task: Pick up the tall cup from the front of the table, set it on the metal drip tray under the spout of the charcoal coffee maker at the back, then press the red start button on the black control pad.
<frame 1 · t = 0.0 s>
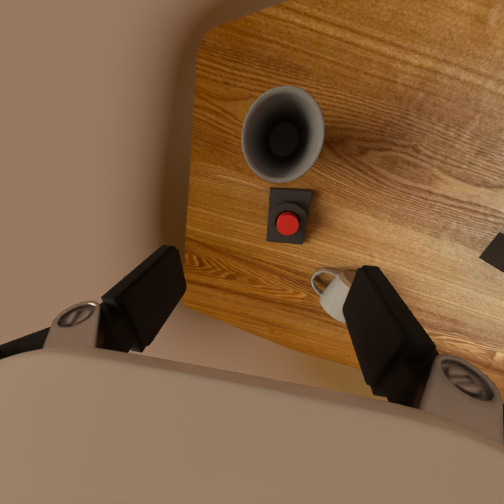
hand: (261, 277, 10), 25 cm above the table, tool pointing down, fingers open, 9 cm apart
start button: (287, 223, 31), point 3 cm above the table, slide at 0.1 cm
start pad: (287, 216, 34), on the table
ceramic mug: (335, 281, 40), on the table
cup: (283, 140, 28), on the table
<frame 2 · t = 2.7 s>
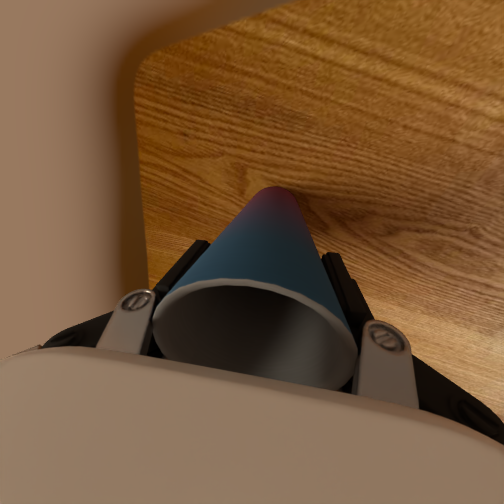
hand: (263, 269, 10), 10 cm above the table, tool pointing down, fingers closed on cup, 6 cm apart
cup: (273, 211, 19), on the table, touching gripper
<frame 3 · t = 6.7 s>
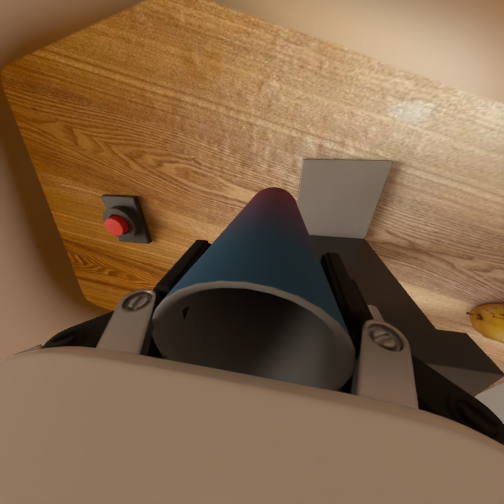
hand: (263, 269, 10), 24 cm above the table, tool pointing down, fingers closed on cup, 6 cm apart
start button: (117, 225, 36), point 3 cm above the table, slide at 0.1 cm
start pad: (130, 219, 39), on the table
cup: (273, 211, 19), point 14 cm above the table, touching gripper
coffee maker: (331, 211, 31), on the table
fruit: (482, 307, 37), on the table
when the fingers open (11 cm above the table, at t = 10.7 s): cup stays where it is, resting on coffee maker.
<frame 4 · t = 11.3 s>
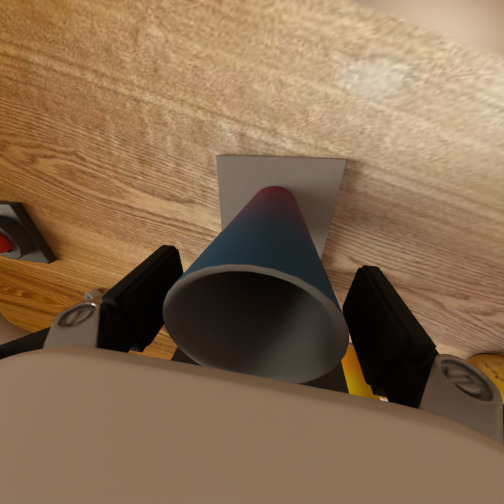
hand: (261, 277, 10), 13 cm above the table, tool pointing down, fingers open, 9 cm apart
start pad: (22, 231, 29), on the table
beer can: (342, 350, 32), on the table
cup: (273, 209, 20), point 1 cm above the table, touching coffee maker
coffee maker: (272, 230, 22), on the table
fruit: (481, 356, 28), on the table
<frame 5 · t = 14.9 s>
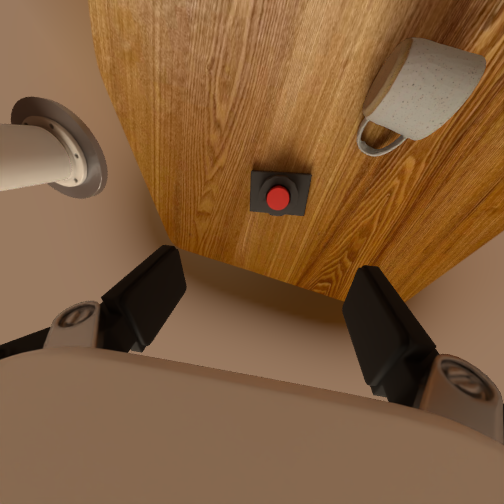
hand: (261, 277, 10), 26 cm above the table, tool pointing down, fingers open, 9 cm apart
start button: (278, 197, 30), point 3 cm above the table, slide at 0.1 cm
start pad: (278, 192, 33), on the table
ceramic mug: (390, 111, 25), on the table
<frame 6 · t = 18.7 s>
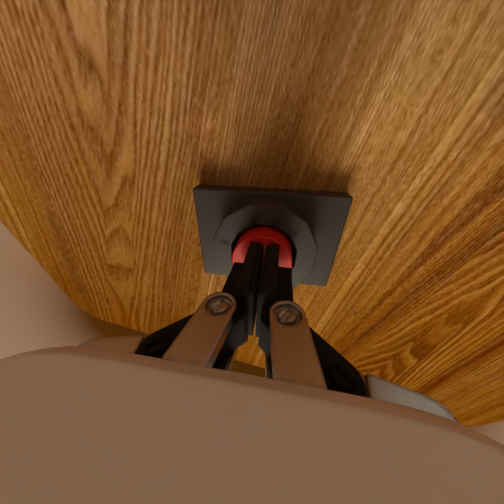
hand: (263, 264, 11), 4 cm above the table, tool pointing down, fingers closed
start button: (262, 255, 12), point 3 cm above the table, slide at -0.3 cm, touching gripper
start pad: (266, 234, 14), on the table
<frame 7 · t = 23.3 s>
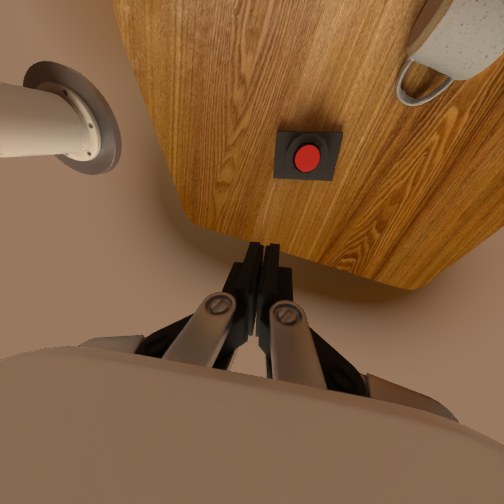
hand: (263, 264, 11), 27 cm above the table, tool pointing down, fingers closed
start button: (306, 158, 28), point 3 cm above the table, slide at 0.1 cm
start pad: (304, 156, 31), on the table
ceramic mug: (433, 53, 23), on the table
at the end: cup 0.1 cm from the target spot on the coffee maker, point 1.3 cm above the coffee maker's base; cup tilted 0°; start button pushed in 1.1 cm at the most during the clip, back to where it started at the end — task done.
